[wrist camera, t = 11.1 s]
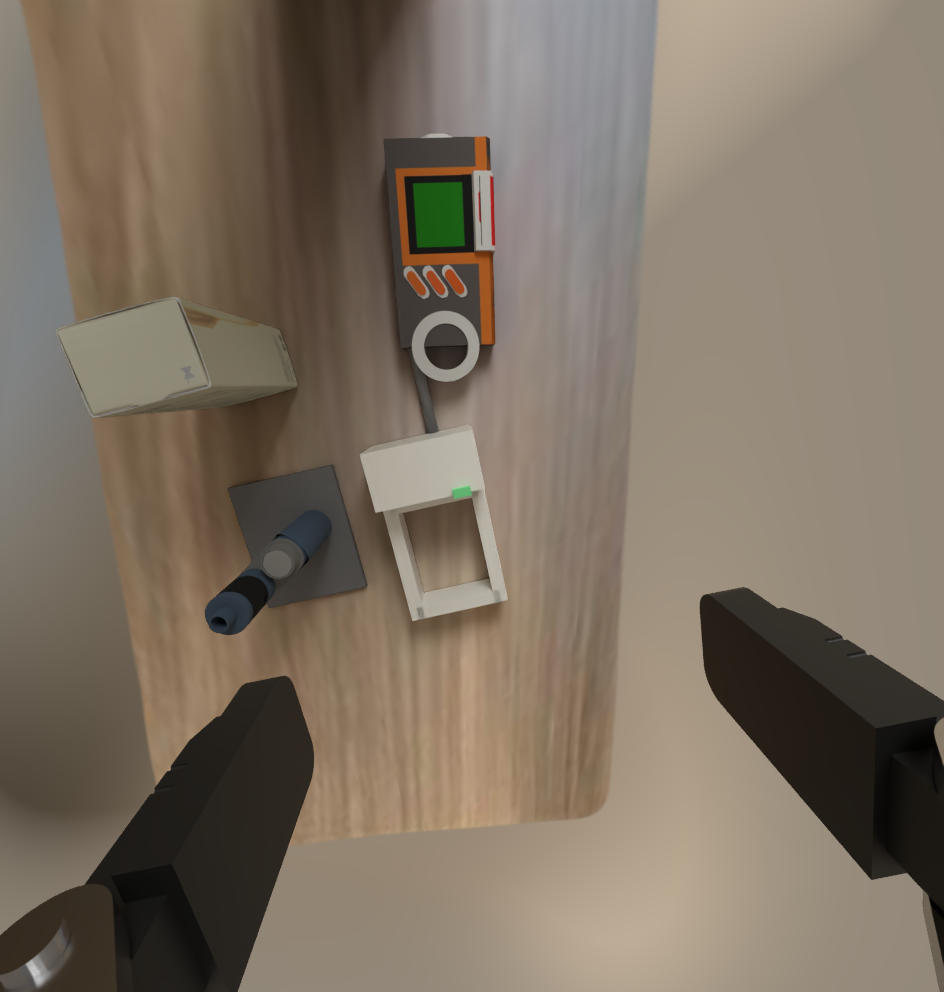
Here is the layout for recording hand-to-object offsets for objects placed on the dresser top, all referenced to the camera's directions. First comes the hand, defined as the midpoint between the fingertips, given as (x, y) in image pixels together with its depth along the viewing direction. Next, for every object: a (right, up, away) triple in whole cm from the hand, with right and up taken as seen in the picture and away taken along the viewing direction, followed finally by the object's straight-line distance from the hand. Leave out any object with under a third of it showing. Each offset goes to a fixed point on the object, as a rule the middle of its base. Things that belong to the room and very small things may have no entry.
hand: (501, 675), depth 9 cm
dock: (-4, +7, +26) cm, 27 cm away
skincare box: (-17, +13, +24) cm, 32 cm away
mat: (-14, 0, +27) cm, 31 cm away
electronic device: (-3, +19, +24) cm, 31 cm away
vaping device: (-13, 0, +27) cm, 30 cm away
